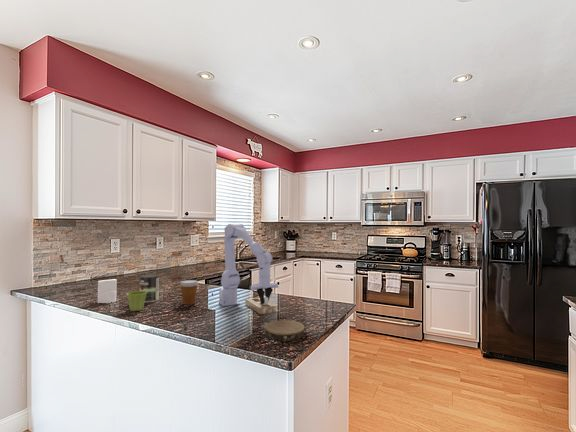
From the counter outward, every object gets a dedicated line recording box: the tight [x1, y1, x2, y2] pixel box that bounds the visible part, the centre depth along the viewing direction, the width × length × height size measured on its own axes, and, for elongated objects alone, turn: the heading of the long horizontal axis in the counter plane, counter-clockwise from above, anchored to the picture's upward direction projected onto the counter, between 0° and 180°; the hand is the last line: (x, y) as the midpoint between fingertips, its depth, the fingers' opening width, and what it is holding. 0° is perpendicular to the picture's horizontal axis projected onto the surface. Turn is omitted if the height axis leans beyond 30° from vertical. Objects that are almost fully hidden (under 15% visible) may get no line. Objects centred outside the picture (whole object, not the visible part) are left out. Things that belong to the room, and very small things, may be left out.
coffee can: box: [138, 273, 160, 304], centre depth 171 cm, size 10×10×14 cm
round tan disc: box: [264, 319, 305, 342], centre depth 120 cm, size 16×16×3 cm
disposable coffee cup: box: [179, 279, 199, 305], centre depth 166 cm, size 10×10×12 cm
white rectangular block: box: [97, 278, 118, 304], centre depth 168 cm, size 9×9×12 cm
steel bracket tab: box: [261, 295, 268, 307], centre depth 152 cm, size 2×5×7 cm, turn 29°
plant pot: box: [126, 290, 147, 312], centre depth 152 cm, size 9×9×9 cm
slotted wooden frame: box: [244, 296, 278, 315], centre depth 156 cm, size 9×20×3 cm, turn 29°
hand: (264, 303), depth 152 cm, fingers closed on steel bracket tab, 2 cm apart
